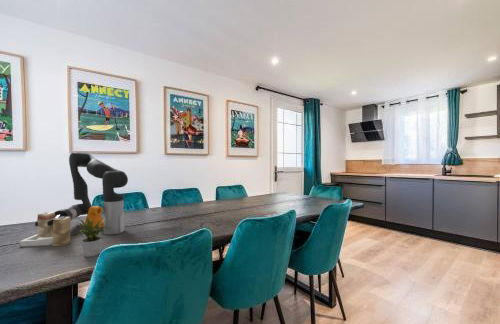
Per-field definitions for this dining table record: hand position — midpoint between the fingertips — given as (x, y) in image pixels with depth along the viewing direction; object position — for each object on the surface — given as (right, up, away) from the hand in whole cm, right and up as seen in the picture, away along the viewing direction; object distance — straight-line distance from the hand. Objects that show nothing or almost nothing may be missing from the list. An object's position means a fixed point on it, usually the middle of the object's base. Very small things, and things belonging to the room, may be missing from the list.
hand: (42, 224), depth 109 cm
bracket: (+7, -9, +28) cm, 31 cm away
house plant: (+31, -9, -13) cm, 35 cm away
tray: (0, -9, +3) cm, 9 cm away
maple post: (-1, -6, +3) cm, 7 cm away
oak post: (+10, -9, -2) cm, 14 cm away
